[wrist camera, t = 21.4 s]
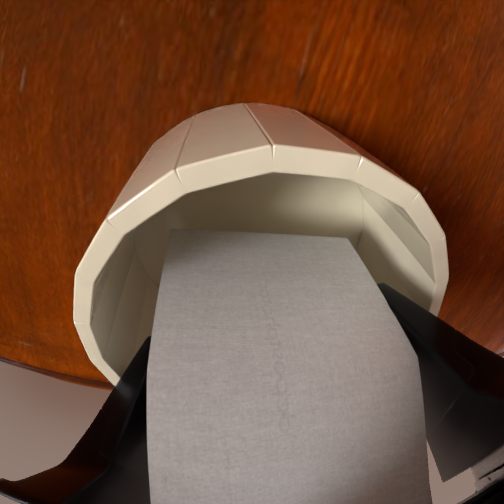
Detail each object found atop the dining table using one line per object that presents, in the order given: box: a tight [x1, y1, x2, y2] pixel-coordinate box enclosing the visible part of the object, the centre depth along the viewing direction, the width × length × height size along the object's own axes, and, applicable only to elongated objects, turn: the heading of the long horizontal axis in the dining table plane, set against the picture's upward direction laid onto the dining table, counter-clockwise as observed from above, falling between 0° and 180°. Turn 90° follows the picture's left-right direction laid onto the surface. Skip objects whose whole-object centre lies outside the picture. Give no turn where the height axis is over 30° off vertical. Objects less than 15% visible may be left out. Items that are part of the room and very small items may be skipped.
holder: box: [73, 103, 449, 386], centre depth 12 cm, size 12×12×7 cm
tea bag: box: [147, 229, 432, 504], centre depth 8 cm, size 4×7×10 cm, turn 83°
